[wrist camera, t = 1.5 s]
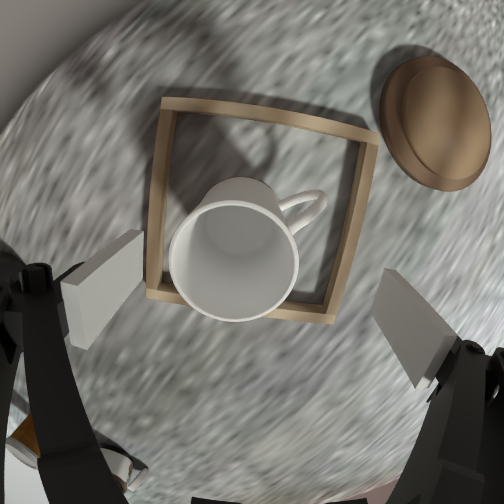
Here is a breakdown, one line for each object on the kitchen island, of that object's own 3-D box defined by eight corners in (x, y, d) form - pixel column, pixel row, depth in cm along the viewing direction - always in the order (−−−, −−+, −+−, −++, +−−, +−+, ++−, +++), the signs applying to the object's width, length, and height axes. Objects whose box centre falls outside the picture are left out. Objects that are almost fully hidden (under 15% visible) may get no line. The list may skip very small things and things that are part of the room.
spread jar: (95, 437, 44) (77, 480, 33) (147, 452, 44) (133, 499, 33) (107, 463, 48) (94, 500, 37) (153, 476, 48) (144, 516, 37)
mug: (294, 150, 27) (323, 150, 15) (325, 229, 29) (366, 278, 18) (183, 199, 28) (140, 231, 17) (220, 272, 31) (203, 340, 20)
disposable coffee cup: (54, 438, 46) (36, 473, 35) (23, 413, 44) (2, 447, 33) (63, 428, 44) (42, 467, 32) (28, 400, 42) (4, 437, 30)
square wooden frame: (151, 289, 32) (146, 298, 30) (168, 99, 25) (162, 96, 23) (329, 314, 33) (333, 324, 31) (372, 134, 26) (380, 133, 24)
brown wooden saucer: (369, 169, 27) (381, 172, 24) (385, 40, 22) (398, 31, 19) (470, 202, 28) (486, 207, 25) (484, 90, 23) (500, 88, 20)
